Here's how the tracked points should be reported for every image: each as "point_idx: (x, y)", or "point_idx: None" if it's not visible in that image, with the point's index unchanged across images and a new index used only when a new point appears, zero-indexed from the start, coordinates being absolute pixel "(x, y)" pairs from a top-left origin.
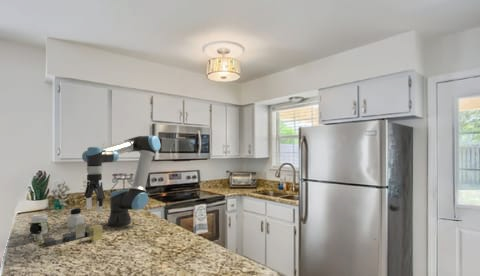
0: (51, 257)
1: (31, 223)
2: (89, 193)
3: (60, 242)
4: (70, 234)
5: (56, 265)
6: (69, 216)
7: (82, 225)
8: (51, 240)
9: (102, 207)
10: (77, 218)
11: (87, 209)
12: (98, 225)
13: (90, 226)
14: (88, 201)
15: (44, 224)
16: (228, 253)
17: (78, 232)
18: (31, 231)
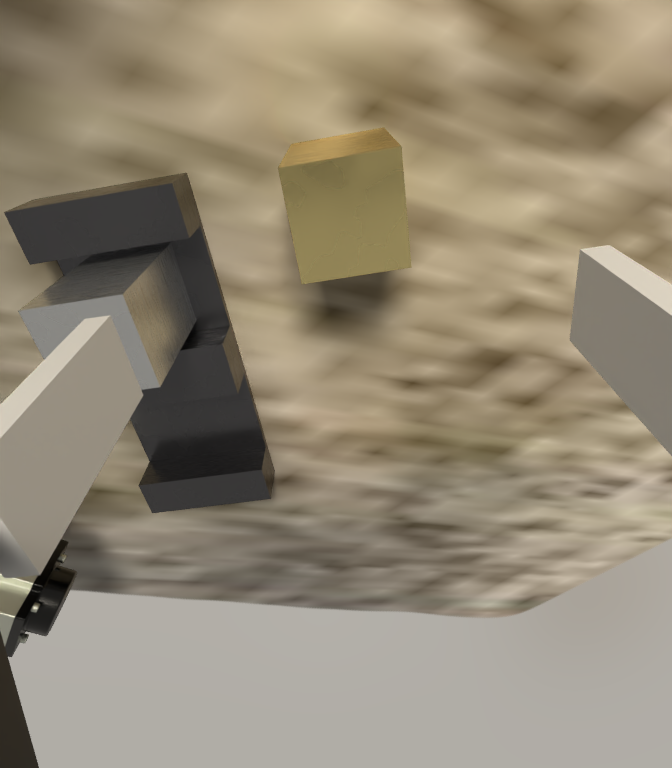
0: (498, 490)
1: (13, 652)
2: (3, 704)
3: (221, 417)
4: None
5: (657, 492)
6: None
7: (140, 311)
8: (250, 490)
9: (656, 280)
10: None
11: (137, 386)
12: (344, 185)
13: (319, 277)
14: (62, 476)
15: None
16: None
17: (174, 321)
18: (65, 598)
